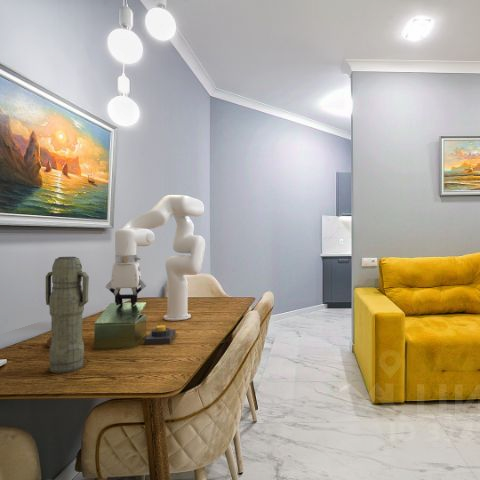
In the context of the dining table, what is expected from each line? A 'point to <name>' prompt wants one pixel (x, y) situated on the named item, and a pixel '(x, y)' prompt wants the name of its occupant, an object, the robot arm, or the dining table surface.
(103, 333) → the green box
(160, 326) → the button
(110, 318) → the lid
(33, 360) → the dining table surface
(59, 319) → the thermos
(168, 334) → the control box
